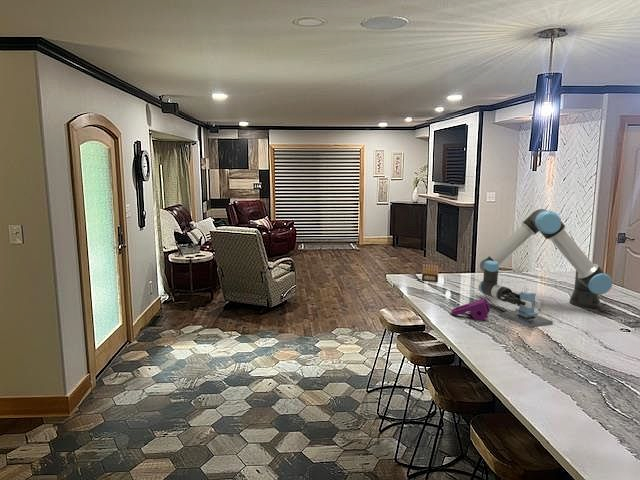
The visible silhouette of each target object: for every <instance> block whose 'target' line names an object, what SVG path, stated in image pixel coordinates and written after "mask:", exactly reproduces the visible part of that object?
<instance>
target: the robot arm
mask: <svg viewBox="0 0 640 480" xmlns="http://www.w3.org/2000/svg"><path fill="white" fill-rule="evenodd" d="M565 229H566V225H565V224H564V223H563V222H562V219H561V217H560V215H559V214H557V213H556V212H554V211H552V210H548V209H545V208H544V209H543V208H540V209H537V210H534V211H533V212H532V213H531V214H529V216H528V217H526V219H525V220H523V221H522V222H521V226H519V228H517V229H516V230H515V231H514V232H513V233H512V234H511V235H510V236H509V237H507V239H506V240H504V242H503V243H501V244H500V245H499V246H498V247H496V249H495V250H494V251H493V252H492V253H491V254H489V255H488V257H486V258H485V259H482V260H481V261H480V263H479V269H480V271H481V272H482V273H483V280H481V281H480V282H479V284H478V290H479V292H480V293H481V294H483V295H485V296H488V297H491V298H493V299H496V300H497V301H498V300H500V301H502V302H504V303H506V302H507V303H510V304H512V305H516V306H517V307H519V306H520V305H522V306H525V307H528V308H531V306H532V303H531V302H528V301H525V300H521V301H520V293H516V292H513V290H512V289H511V288H509V287H506V286H504V285H500V284H498V279H499V277H498V276H499V269H500V267H499V266H500V265H501V264H503V262H504V261H505V260H506V259H508V258H509V257H510V255H512V254H513V253H514V252H515V251H516V250H518V248H519V247H521V245H523V244H524V243H525V242H526V241H527V240H528V239H529V238H530V237H531V236H535V235H536V234H538V233H539V232H540V234H541V235H542V237H544V238H545V239H546V240H549V241H551V242H552V243H553V245H554V246H555V247H556V249H558V251H560V253H561V254H562V256H564V258H565V259H566V260H567V262H569V264H570V265H571V266H572V267H573V269H574V270H575V278H574V279H575V280H574V288H573V290H572V294H571V296H570V298H569V303H570V304H571V305H573V306H576V307H582V308H586V309H587V308H588V309H589V308H590V309H594V308H595V309H596V308H597V309H598V308H600V307H601V301H600V296H599V295H604V294H607V293H608V292H610V290H611V289H612V287H613V279H612V278H611V276H610V275H609V274H607V273H605V271H604V270H602V268H601V266H600V265H599V264H597V263H593V262H592V261H591V259H590V258H589V257H588V256H587V255H586V254H585V252H584V251H583V250H582V248H580V246H579V245H578V244H577V242H576V241H574V240H573V238H572V237H571V235H569V233H568V232H567V231H566V230H565ZM541 304H542V303H541V301H539V300H537V299H535V307H538V308H541Z"/></svg>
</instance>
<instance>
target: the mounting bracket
mask: <svg viewBox="0 0 640 480" xmlns="http://www.w3.org/2000/svg"><path fill="white" fill-rule="evenodd" d="M490 309H491V308H490V305H489V303H488V300H487V298H486V297H485V298H482V299H478V300H475V301H472V302H468V303H465V304H463V305H460V306H459V305H458V306H457V307H455V308H453V309H452V310H450V311H451V314H452V315H453V316H458V315H462V314H464V313H470V315H471V317H472V318H473V319H474V320H475V321H484V320H486V319H487V317H488V315H489V313H490Z"/></svg>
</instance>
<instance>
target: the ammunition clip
mask: <svg viewBox="0 0 640 480" xmlns="http://www.w3.org/2000/svg"><path fill="white" fill-rule="evenodd" d="M421 282H428V283H429V282H431V283H439V265H438V264H434V265H433V264H431V263H426V265H425V263H423V265H422V274H421Z"/></svg>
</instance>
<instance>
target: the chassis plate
mask: <svg viewBox="0 0 640 480" xmlns="http://www.w3.org/2000/svg"><path fill="white" fill-rule="evenodd" d="M501 316H502V317H504V318H507V319H509V320H512V321H514V322H517V323H519V324H522V325H524V326H526V327H529V328H536V327H543V326H550V325H553V324H554V322H553V320H551V319H547V318H545V317H542V316H540V315H534V317H527V319H526V318H525V317H523V316H521V315H519V311H516V310H509V311H504V312H503V311H502V312H501Z"/></svg>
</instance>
